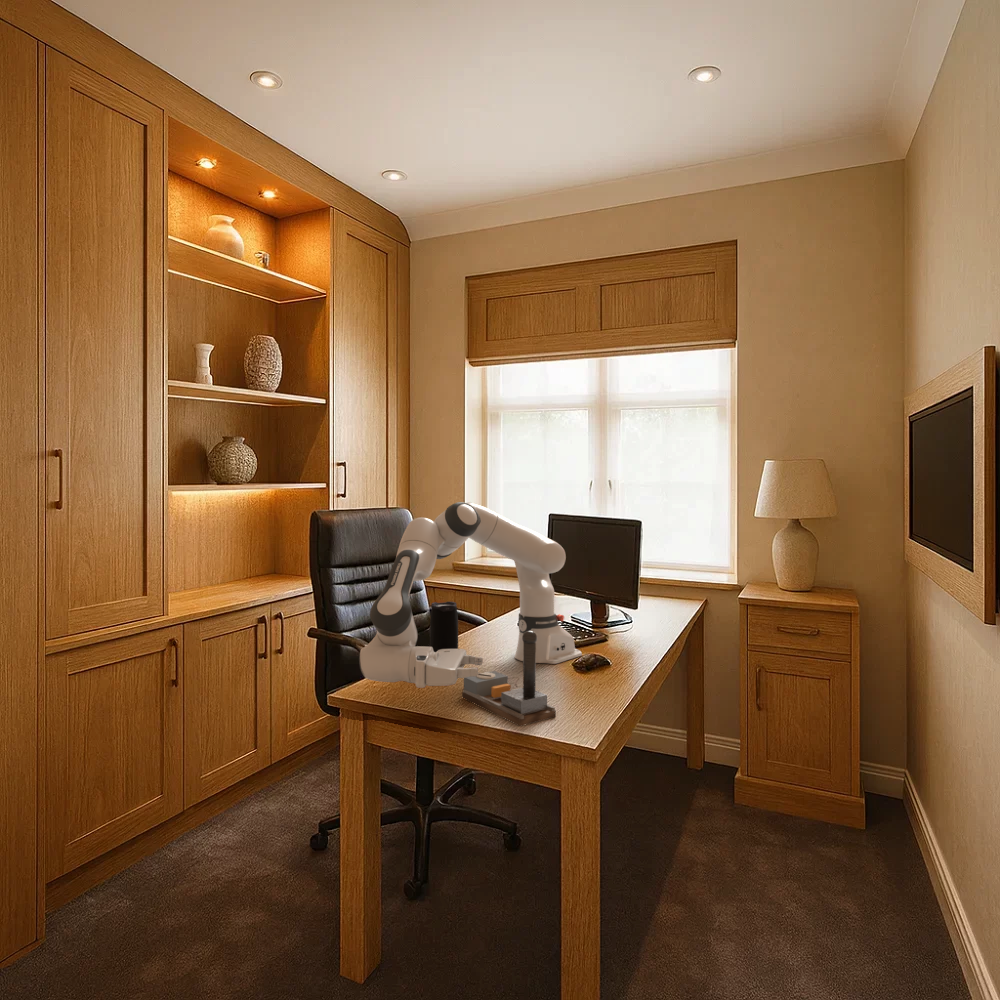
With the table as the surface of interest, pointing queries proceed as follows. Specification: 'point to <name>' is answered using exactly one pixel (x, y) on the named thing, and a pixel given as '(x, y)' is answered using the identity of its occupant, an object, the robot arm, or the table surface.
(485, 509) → the robot arm
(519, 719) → the rail board
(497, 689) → the button
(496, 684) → the gauge cabinet
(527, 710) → the carriage
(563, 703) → the table surface
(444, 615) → the portable speaker
